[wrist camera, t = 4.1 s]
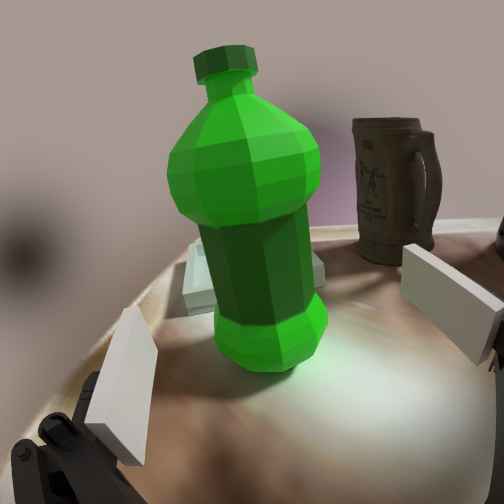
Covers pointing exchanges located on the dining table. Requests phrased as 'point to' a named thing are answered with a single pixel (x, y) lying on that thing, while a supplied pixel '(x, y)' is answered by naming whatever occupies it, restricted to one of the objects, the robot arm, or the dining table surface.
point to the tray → (200, 284)
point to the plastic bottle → (251, 214)
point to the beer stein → (395, 187)
